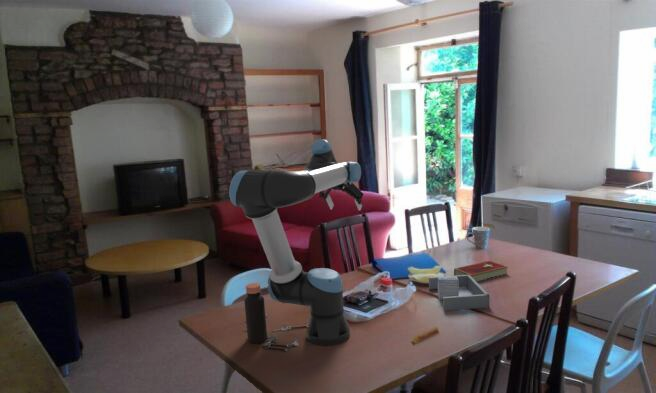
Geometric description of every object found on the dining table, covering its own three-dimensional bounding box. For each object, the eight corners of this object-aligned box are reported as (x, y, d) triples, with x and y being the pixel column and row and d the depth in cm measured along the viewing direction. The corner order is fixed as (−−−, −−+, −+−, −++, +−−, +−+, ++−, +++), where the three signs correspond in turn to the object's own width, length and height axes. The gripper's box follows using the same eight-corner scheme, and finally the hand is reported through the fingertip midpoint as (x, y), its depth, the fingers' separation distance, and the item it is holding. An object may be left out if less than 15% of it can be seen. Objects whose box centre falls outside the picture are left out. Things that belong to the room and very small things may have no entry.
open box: (489, 307, 190) (489, 295, 190) (444, 310, 190) (443, 298, 189) (469, 285, 214) (469, 274, 214) (429, 288, 214) (428, 277, 213)
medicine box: (457, 295, 204) (456, 275, 202) (459, 300, 199) (458, 279, 198) (437, 296, 205) (437, 276, 203) (439, 300, 200) (438, 279, 199)
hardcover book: (454, 276, 228) (453, 267, 228) (489, 268, 237) (489, 259, 236) (471, 283, 218) (471, 274, 217) (508, 275, 226) (508, 266, 225)
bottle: (258, 333, 179) (253, 280, 176) (271, 338, 175) (266, 284, 172) (243, 340, 174) (238, 286, 171) (257, 345, 170) (252, 290, 167)
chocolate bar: (440, 333, 172) (439, 327, 171) (416, 345, 165) (415, 338, 164) (434, 331, 174) (434, 325, 173) (410, 342, 167) (410, 336, 166)
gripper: (361, 166, 199) (375, 202, 213) (307, 166, 210) (323, 200, 224) (356, 179, 194) (370, 215, 208) (301, 178, 206) (317, 213, 220)
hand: (346, 207), depth 216 cm, fingers open, 13 cm apart
